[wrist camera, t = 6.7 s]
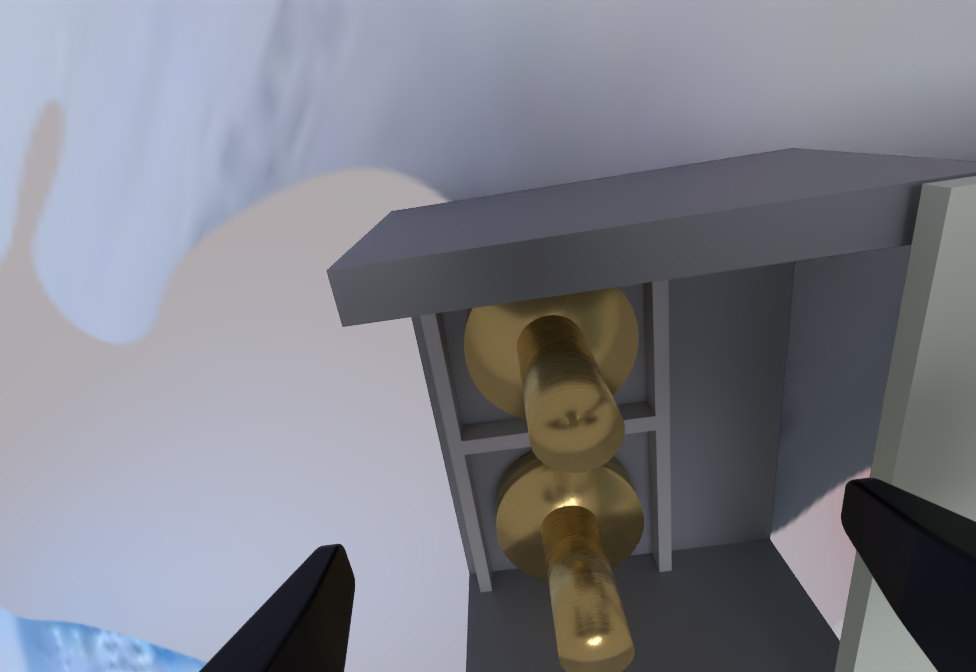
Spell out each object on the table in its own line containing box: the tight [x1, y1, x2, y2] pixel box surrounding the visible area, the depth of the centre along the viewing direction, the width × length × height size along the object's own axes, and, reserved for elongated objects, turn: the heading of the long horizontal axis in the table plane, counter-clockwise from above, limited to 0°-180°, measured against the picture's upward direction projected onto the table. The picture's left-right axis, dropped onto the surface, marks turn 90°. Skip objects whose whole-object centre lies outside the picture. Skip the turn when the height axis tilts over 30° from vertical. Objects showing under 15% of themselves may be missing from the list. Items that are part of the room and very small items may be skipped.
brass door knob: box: [464, 287, 639, 473], centre depth 14 cm, size 6×6×6 cm
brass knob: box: [496, 450, 644, 672], centre depth 17 cm, size 6×6×6 cm
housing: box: [327, 148, 976, 672], centre depth 16 cm, size 13×17×7 cm
